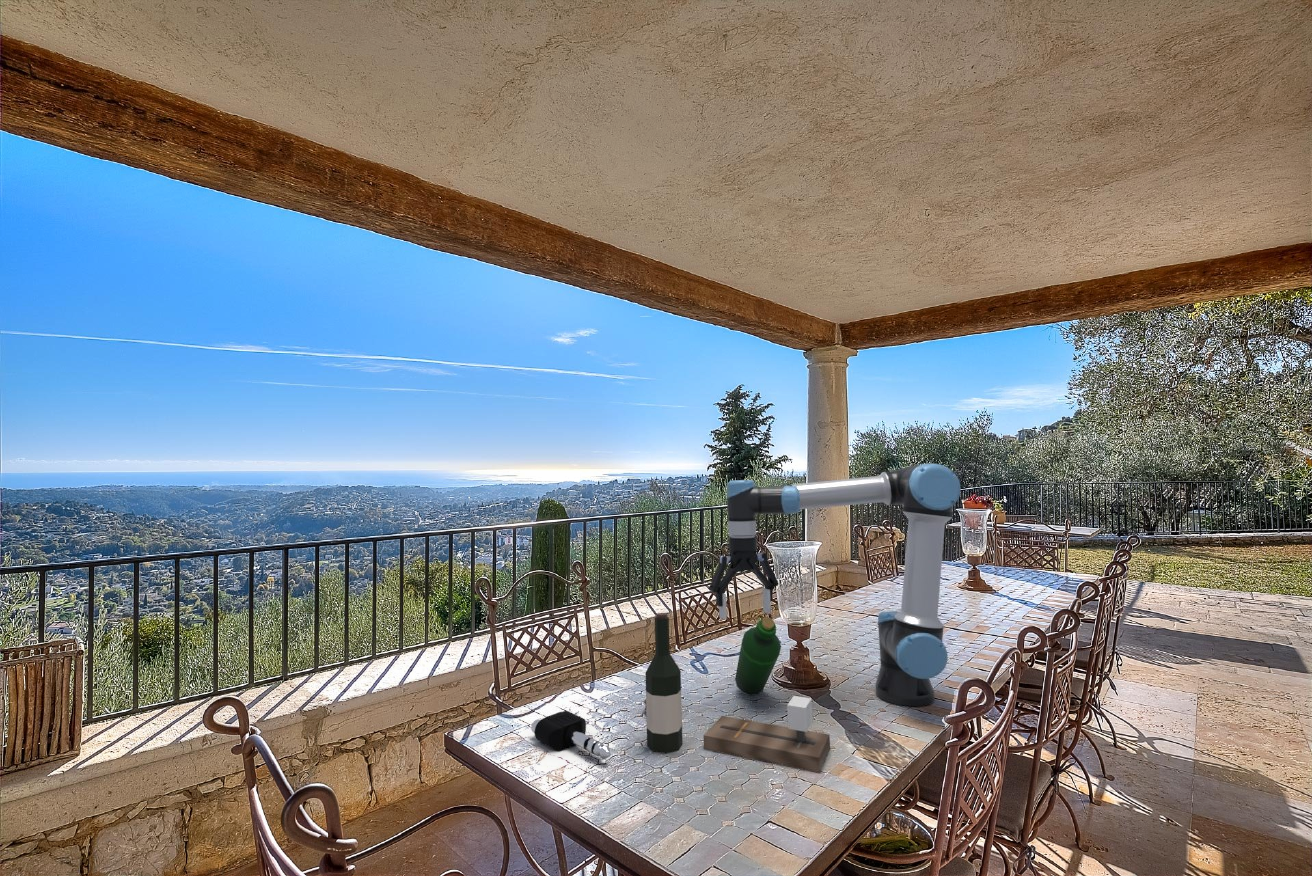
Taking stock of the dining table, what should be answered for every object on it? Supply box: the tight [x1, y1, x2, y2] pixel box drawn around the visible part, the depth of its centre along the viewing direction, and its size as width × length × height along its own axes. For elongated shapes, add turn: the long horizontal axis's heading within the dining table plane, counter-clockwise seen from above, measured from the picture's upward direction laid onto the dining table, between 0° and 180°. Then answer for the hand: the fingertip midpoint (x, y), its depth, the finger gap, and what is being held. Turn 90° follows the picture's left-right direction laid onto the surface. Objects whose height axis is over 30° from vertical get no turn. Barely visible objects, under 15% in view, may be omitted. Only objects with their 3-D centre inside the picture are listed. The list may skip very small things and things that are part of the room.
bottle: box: [734, 616, 782, 696], centre depth 156 cm, size 11×11×28 cm
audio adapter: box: [530, 710, 611, 760], centre depth 131 cm, size 11×5×25 cm
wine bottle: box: [645, 612, 684, 754], centre depth 133 cm, size 8×8×30 cm
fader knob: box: [786, 695, 813, 742], centre depth 126 cm, size 4×6×8 cm, turn 153°
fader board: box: [703, 715, 831, 773], centre depth 129 cm, size 26×12×3 cm, turn 63°
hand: (745, 615), depth 153 cm, fingers open, 13 cm apart
